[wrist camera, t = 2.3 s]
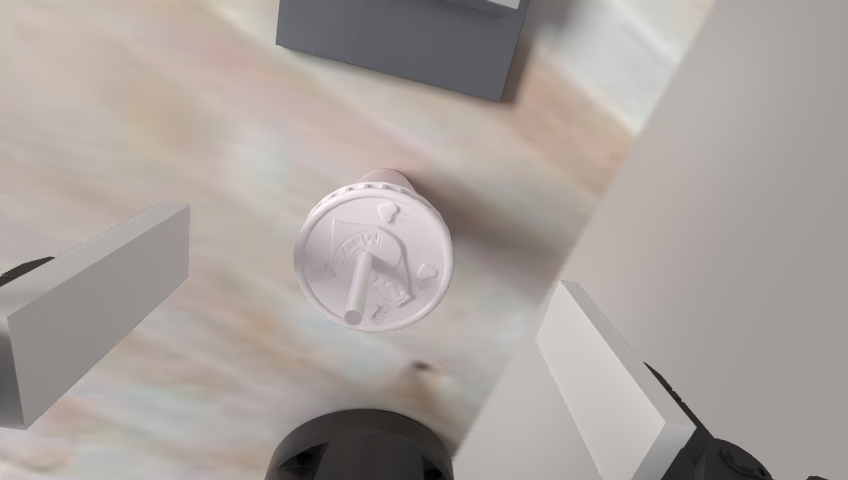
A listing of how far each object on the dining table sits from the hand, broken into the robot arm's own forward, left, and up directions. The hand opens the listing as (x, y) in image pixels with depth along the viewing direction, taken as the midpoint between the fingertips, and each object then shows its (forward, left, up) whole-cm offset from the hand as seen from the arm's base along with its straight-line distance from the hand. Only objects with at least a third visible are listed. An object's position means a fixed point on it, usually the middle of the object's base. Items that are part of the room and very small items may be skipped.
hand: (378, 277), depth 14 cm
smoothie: (0, 0, -11) cm, 11 cm away
